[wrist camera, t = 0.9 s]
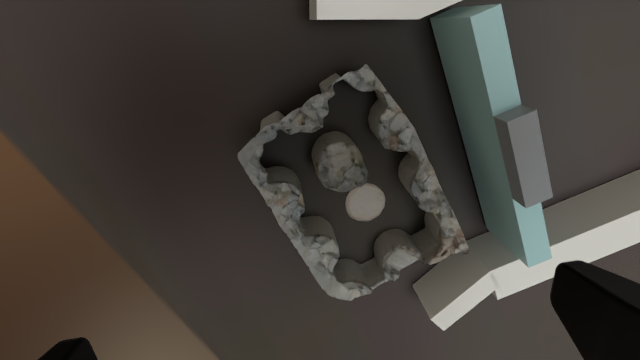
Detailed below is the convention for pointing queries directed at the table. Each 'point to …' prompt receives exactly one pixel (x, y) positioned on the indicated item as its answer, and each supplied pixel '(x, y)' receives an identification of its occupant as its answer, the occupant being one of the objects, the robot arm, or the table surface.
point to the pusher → (496, 128)
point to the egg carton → (354, 192)
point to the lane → (487, 250)
